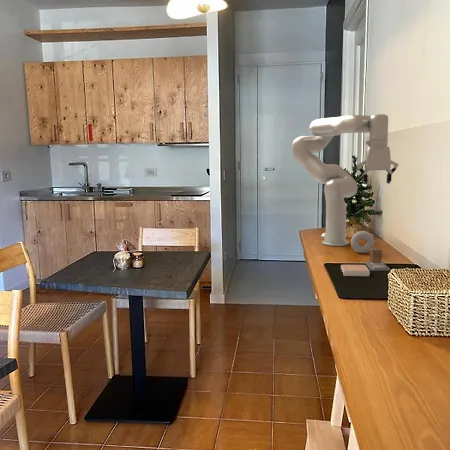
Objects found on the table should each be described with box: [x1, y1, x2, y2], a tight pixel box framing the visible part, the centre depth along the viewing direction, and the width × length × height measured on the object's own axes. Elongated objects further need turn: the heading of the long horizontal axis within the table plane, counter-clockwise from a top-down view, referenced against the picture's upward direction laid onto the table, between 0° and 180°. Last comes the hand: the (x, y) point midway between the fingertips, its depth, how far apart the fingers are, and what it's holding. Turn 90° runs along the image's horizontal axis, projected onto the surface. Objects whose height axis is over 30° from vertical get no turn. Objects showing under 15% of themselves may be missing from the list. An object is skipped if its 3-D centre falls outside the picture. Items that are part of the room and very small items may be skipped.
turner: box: [369, 247, 386, 269], centre depth 175 cm, size 10×4×6 cm, turn 174°
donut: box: [350, 230, 375, 254], centre depth 198 cm, size 10×3×10 cm, turn 81°
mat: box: [364, 261, 392, 272], centre depth 175 cm, size 12×7×1 cm, turn 174°
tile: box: [340, 264, 371, 277], centre depth 168 cm, size 2×9×9 cm
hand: (376, 183), depth 198 cm, fingers open, 9 cm apart
